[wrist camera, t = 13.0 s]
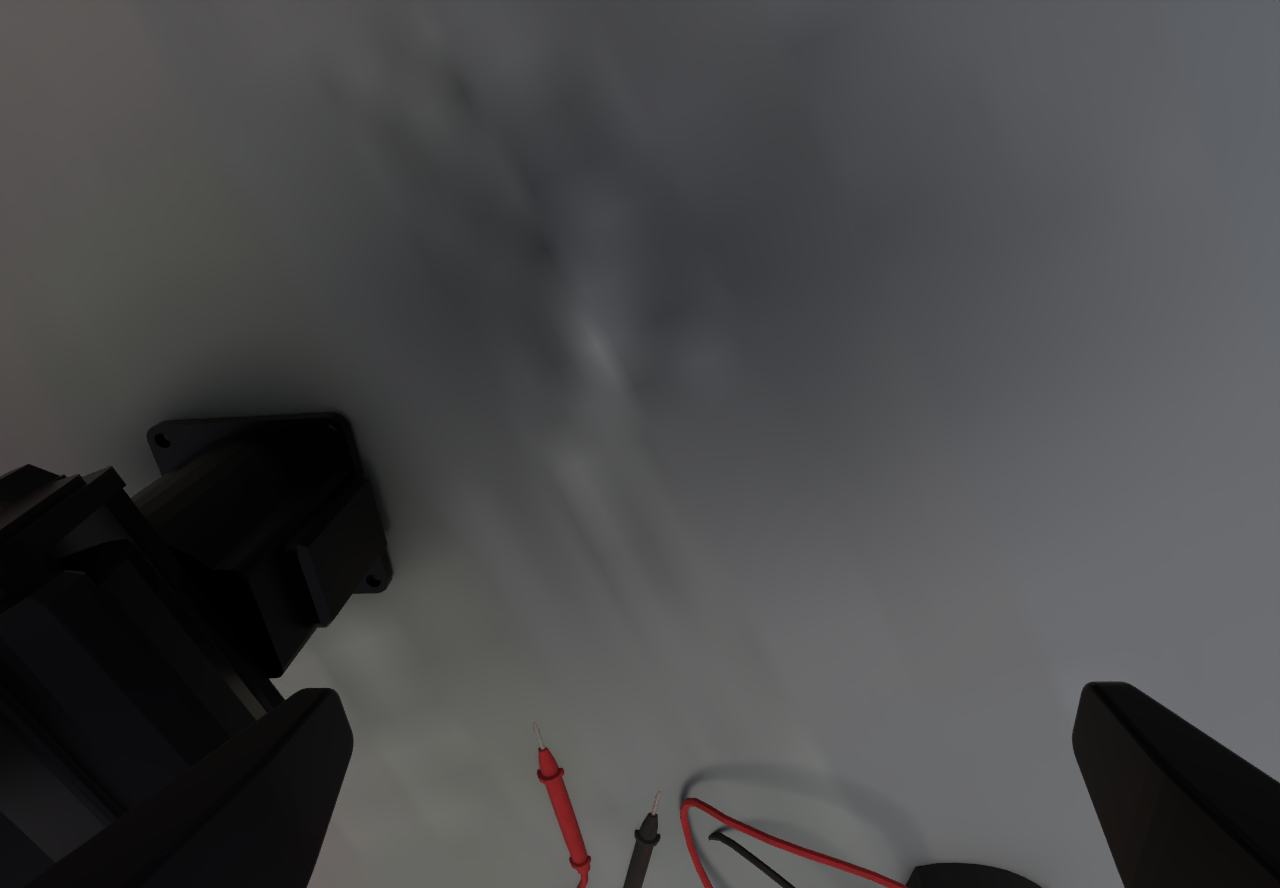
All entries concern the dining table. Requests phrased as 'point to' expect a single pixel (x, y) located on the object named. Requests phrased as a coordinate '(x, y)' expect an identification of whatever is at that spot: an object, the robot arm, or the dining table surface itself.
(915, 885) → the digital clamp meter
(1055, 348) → the dining table surface
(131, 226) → the dining table surface
